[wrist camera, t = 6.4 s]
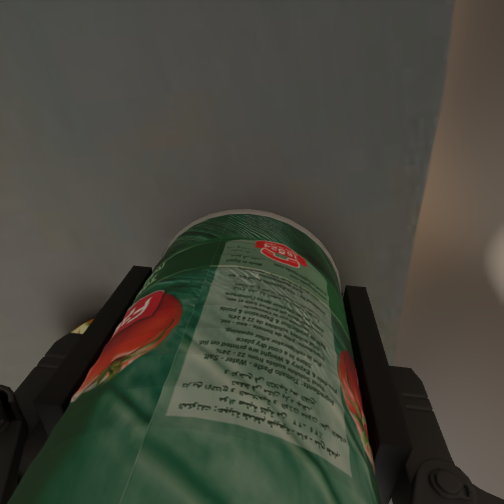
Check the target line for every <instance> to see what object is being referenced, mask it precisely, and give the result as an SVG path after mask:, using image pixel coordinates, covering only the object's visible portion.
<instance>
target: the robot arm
mask: <svg viewBox="0 0 504 504" xmlns="http://www.w3.org/2000/svg"><path fill="white" fill-rule="evenodd" d="M151 274H152V267H141V266H133V267H132V269H131V270H130V271H129V273H128V274H127V275H126V277H125V278H124V279H123V281H122V282H121V283H120V285H119V286H118V287H117V289H116V290H115V291H114V293H113V294H112V296H111V297H110V298H109V300H108V301H107V302H106V304H105V305H104V306H103V308H102V309H101V310H100V312H99V313H98V314H97V316H96V317H95V318H94V320H93V321H92V322H91V324H90V325H89V326H88V328H87V329H86V330H85V332H84V333H83V334H79V333H70V332H69V333H68V334H67V335H65V336H64V337H62V338H61V339H59V340H58V341H56V342H55V343H54V344H53V346H52V347H51V348H50V349H49V351H48V352H47V353H46V354H45V357H43V358H42V359H41V360H40V362H39V363H38V364H37V367H35V368H34V369H33V370H32V371H31V373H30V374H29V375H28V376H27V378H26V379H25V380H24V381H23V382H22V384H21V385H20V386H19V387H18V389H17V390H16V391H15V392H13V391H12V390H11V388H10V387H6V386H3V385H0V504H7V503H8V501H9V499H10V498H11V496H12V495H13V493H14V491H15V490H16V488H17V486H18V484H19V482H20V481H21V479H22V477H23V475H24V474H25V472H26V470H27V468H28V466H29V465H30V464H31V463H32V461H33V460H34V459H35V458H36V456H37V455H38V453H39V452H40V450H41V449H42V448H43V446H44V444H45V443H46V441H47V439H48V437H49V435H50V433H51V431H52V429H53V427H54V426H55V425H56V424H57V422H58V421H59V420H60V419H61V417H62V416H63V414H64V413H65V411H66V409H67V408H68V406H69V404H70V401H71V399H72V397H73V396H74V395H75V393H76V392H77V391H78V390H79V388H80V387H81V385H82V384H83V382H84V381H85V379H86V377H87V375H88V373H89V370H90V369H91V368H92V367H93V366H94V364H95V363H96V362H97V360H98V359H99V357H100V355H101V353H102V351H103V349H104V347H105V346H106V344H107V343H108V342H109V341H110V339H111V338H112V336H113V334H114V332H115V330H116V328H117V326H118V325H119V324H120V323H121V322H122V320H123V319H124V317H125V315H126V313H127V311H128V309H129V308H130V307H131V306H132V304H133V303H134V301H135V299H136V297H137V295H138V293H139V292H140V291H141V290H142V288H143V286H144V285H145V283H146V281H147V279H148V278H149V277H150V276H151ZM343 303H344V308H345V313H346V319H347V324H348V329H349V335H350V340H351V345H352V350H353V356H354V361H355V367H356V372H357V377H358V382H359V389H360V393H361V398H362V403H363V409H364V416H365V419H366V424H367V430H368V435H369V445H370V447H371V451H372V456H373V462H374V467H375V478H376V481H377V484H378V488H379V493H380V499H381V504H388V503H389V501H390V499H391V497H392V502H393V504H504V500H503V499H501V498H499V497H496V496H494V495H492V494H489V493H487V492H485V491H483V490H481V489H479V488H478V487H476V486H475V485H474V484H472V483H471V481H470V479H469V478H468V477H467V476H466V475H465V474H464V473H463V472H462V471H461V469H460V468H458V467H457V466H455V464H454V462H453V460H452V458H451V456H450V453H449V451H448V448H447V445H446V443H445V440H444V438H443V435H442V432H441V430H440V427H439V425H438V422H437V419H436V417H435V414H434V412H433V411H432V406H431V404H430V401H429V399H428V398H427V397H428V396H427V393H426V391H425V388H424V385H423V383H422V381H421V380H420V378H419V377H418V376H417V375H416V374H415V373H414V372H413V370H412V369H411V368H404V367H396V366H389V365H388V361H387V358H386V355H385V351H384V348H383V345H382V341H381V338H380V334H379V331H378V328H377V324H376V321H375V318H374V314H373V311H372V307H371V304H370V301H369V297H368V294H367V291H366V287H357V286H347V285H346V288H345V293H344V298H343Z"/></svg>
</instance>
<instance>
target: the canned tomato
mask: <svg viewBox="0 0 504 504" xmlns="http://www.w3.org/2000/svg"><path fill="white" fill-rule="evenodd" d="M7 504H381V499H380V493H379V488H378V484H377V481H376V478H375V467H374V462H373V456H372V451H371V447H370V445H369V435H368V430H367V424H366V419H365V416H364V409H363V403H362V398H361V393H360V389H359V382H358V377H357V372H356V367H355V361H354V356H353V350H352V345H351V340H350V335H349V329H348V324H347V319H346V313H345V308H344V303H343V298H342V295H341V283H340V278H339V272H338V270H337V268H336V266H335V263H334V261H333V259H332V257H331V255H330V254H329V252H328V251H327V249H326V248H325V247H324V245H323V244H322V243H321V241H319V240H318V239H317V238H316V237H315V236H314V235H313V234H312V233H310V232H309V231H308V230H307V229H306V228H304V227H302V226H300V225H299V224H297V223H295V222H294V221H292V220H290V219H288V218H285V217H282V216H279V215H277V214H274V213H271V212H266V211H260V210H253V209H230V210H225V211H221V212H216V213H212V214H209V215H207V216H204V217H202V218H200V219H198V220H195V221H194V222H192V223H191V224H189V225H188V226H187V227H185V228H184V229H183V230H181V231H180V232H179V233H178V234H177V235H176V236H175V238H174V239H173V240H172V241H171V242H170V243H169V244H168V246H167V248H166V250H165V252H164V254H163V256H162V258H161V260H160V262H159V263H158V264H157V266H156V267H155V268H154V270H153V272H152V274H151V276H150V277H149V278H148V279H147V281H146V283H145V285H144V286H143V288H142V290H141V291H140V292H139V293H138V295H137V297H136V299H135V301H134V303H133V304H132V306H131V307H130V308H129V309H128V311H127V313H126V315H125V317H124V319H123V320H122V322H121V323H120V324H119V325H118V326H117V328H116V330H115V332H114V334H113V336H112V338H111V339H110V341H109V342H108V343H107V344H106V346H105V347H104V349H103V351H102V353H101V355H100V357H99V359H98V360H97V362H96V363H95V364H94V366H93V367H92V368H91V369H90V370H89V373H88V375H87V377H86V379H85V381H84V382H83V384H82V385H81V387H80V388H79V390H78V391H77V392H76V393H75V395H74V396H73V397H72V399H71V401H70V404H69V406H68V408H67V409H66V411H65V413H64V414H63V416H62V417H61V419H60V420H59V421H58V422H57V424H56V425H55V426H54V427H53V429H52V431H51V433H50V435H49V437H48V439H47V441H46V443H45V444H44V446H43V448H42V449H41V450H40V452H39V453H38V455H37V456H36V458H35V459H34V460H33V461H32V463H31V464H30V465H29V466H28V468H27V470H26V472H25V474H24V475H23V477H22V479H21V481H20V482H19V484H18V486H17V488H16V490H15V491H14V493H13V495H12V496H11V498H10V499H9V501H8V503H7Z"/></svg>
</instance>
